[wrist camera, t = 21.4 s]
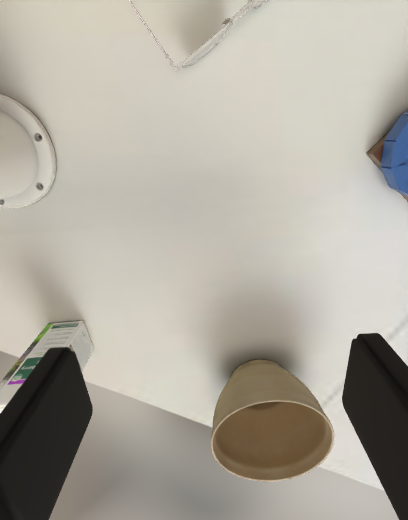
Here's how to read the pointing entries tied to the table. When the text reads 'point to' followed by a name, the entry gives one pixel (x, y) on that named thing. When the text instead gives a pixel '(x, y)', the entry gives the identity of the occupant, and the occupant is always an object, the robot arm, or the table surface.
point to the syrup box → (50, 337)
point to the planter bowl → (269, 425)
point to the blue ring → (396, 156)
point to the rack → (379, 154)
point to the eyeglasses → (213, 41)
